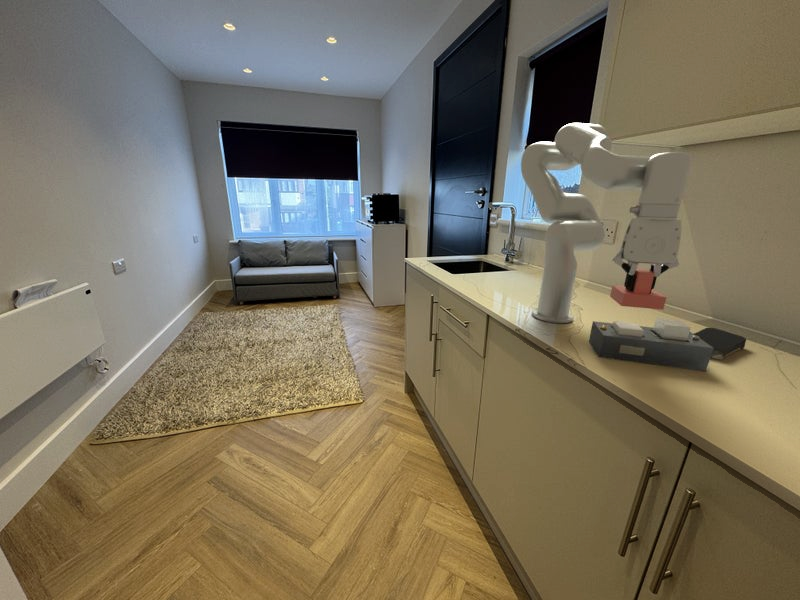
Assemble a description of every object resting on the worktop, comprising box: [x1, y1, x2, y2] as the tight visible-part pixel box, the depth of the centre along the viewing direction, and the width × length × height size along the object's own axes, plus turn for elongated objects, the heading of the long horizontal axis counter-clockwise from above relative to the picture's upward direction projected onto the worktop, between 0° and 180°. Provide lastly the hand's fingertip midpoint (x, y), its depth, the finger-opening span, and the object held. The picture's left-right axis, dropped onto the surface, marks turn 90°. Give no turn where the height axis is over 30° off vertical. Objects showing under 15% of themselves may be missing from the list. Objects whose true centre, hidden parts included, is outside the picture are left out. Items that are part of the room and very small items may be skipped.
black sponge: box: [693, 327, 747, 361], centre depth 85 cm, size 16×8×4 cm, turn 118°
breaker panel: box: [588, 317, 714, 372], centre depth 79 cm, size 10×22×10 cm, turn 73°
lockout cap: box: [609, 268, 667, 310], centre depth 77 cm, size 8×8×8 cm
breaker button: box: [612, 320, 644, 337], centre depth 81 cm, size 5×5×4 cm
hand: (637, 290), depth 77 cm, fingers closed on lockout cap, 3 cm apart
